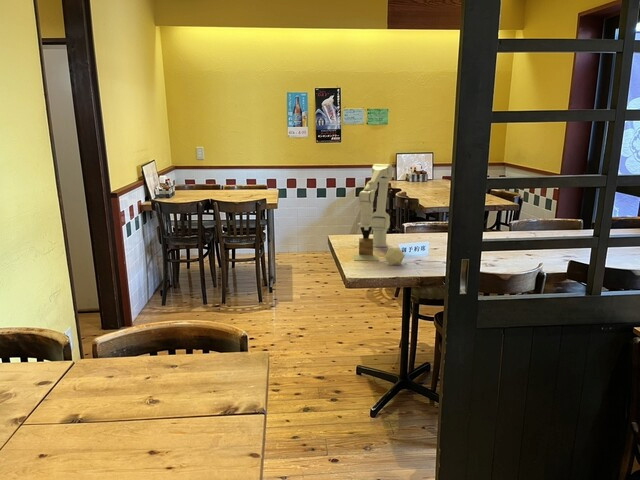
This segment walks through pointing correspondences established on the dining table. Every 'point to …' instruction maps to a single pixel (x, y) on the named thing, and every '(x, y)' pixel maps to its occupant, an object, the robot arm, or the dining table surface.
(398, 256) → the die
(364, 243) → the walnut block
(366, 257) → the mat
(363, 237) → the robot arm
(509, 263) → the dining table surface
